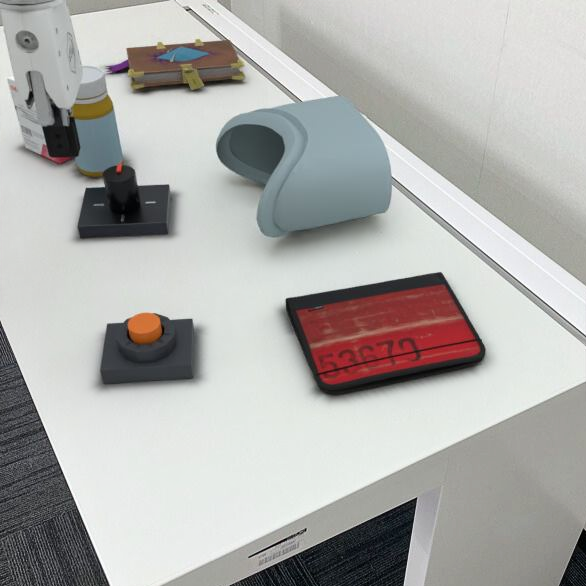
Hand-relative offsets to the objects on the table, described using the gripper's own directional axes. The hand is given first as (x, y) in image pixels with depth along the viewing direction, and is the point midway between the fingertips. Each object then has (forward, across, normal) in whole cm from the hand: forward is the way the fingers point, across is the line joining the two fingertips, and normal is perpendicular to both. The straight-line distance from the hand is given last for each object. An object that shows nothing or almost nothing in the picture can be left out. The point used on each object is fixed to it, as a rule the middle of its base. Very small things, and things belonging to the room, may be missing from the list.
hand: (65, 153), depth 88 cm
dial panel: (+20, +17, -2) cm, 26 cm away
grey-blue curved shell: (+20, +18, -27) cm, 38 cm away
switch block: (+20, -13, -8) cm, 25 cm away
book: (+20, +64, -7) cm, 67 cm away
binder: (+19, -12, -36) cm, 42 cm away
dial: (+18, +17, -2) cm, 25 cm away
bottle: (+20, +31, +3) cm, 37 cm away
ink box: (+20, +37, +11) cm, 43 cm away
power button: (+16, -13, -8) cm, 22 cm away
